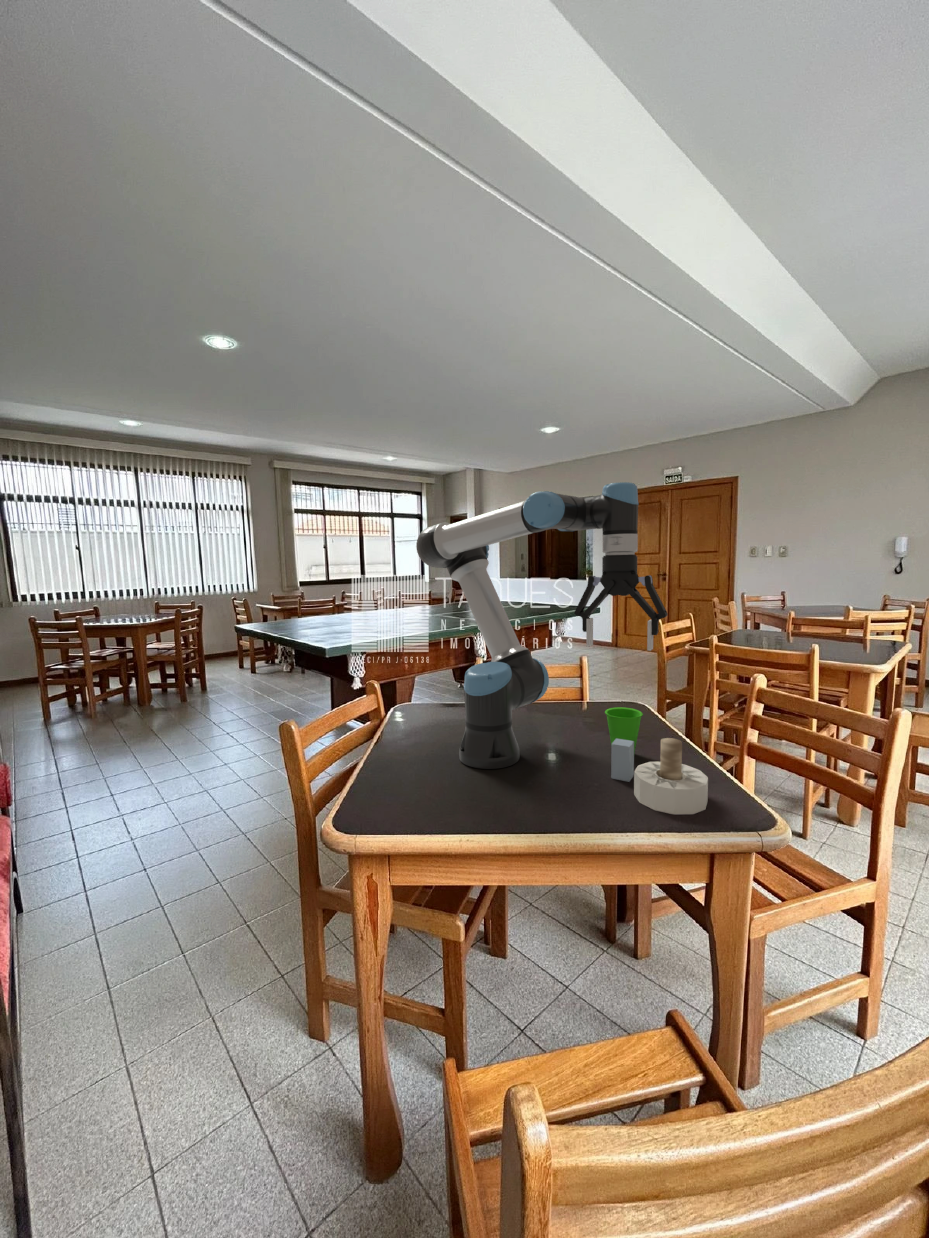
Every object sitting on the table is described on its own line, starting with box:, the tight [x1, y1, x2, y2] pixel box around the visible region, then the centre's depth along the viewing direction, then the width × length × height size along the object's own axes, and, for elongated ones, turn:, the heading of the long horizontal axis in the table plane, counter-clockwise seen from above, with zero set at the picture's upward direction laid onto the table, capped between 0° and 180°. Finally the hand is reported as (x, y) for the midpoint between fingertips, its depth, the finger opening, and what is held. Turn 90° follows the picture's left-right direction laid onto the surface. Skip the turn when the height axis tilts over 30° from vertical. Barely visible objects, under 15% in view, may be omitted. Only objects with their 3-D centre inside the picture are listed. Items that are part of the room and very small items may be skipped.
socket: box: [633, 761, 709, 815], centre depth 102 cm, size 14×14×5 cm
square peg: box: [610, 738, 635, 783], centre depth 113 cm, size 4×4×8 cm
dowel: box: [659, 737, 683, 780], centre depth 102 cm, size 4×4×12 cm
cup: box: [604, 706, 644, 755], centre depth 125 cm, size 9×9×11 cm
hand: (619, 647), depth 115 cm, fingers open, 13 cm apart
